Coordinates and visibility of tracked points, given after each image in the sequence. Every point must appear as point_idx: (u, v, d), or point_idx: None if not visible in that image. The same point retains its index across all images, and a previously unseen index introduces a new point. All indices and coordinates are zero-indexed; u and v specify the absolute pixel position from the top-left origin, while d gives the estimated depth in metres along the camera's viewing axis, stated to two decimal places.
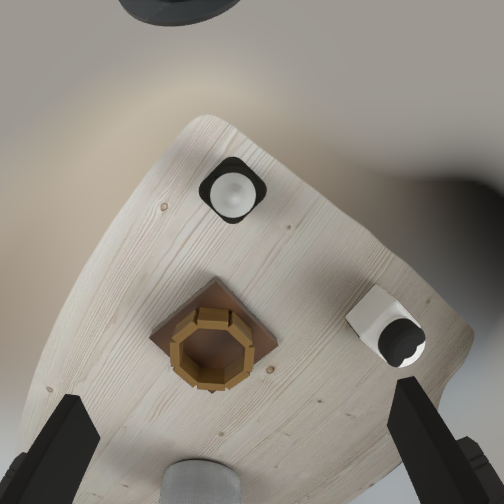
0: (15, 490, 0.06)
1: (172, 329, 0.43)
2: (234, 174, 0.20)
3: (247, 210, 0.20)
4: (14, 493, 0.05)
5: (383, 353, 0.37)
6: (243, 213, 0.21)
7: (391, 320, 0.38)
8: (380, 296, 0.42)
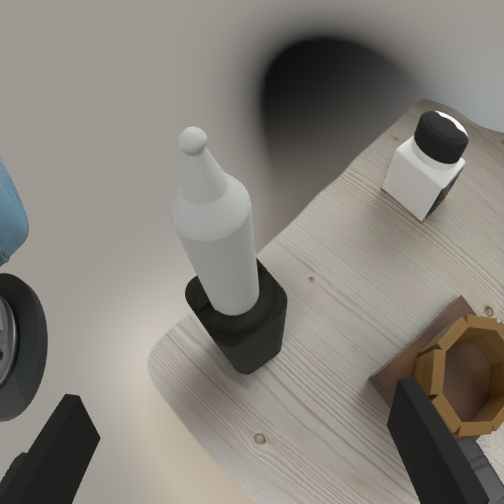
0: (15, 490, 0.06)
1: None
2: None
3: None
4: (14, 493, 0.05)
5: (456, 152, 0.27)
6: (244, 188, 0.11)
7: (418, 150, 0.30)
8: (394, 174, 0.35)
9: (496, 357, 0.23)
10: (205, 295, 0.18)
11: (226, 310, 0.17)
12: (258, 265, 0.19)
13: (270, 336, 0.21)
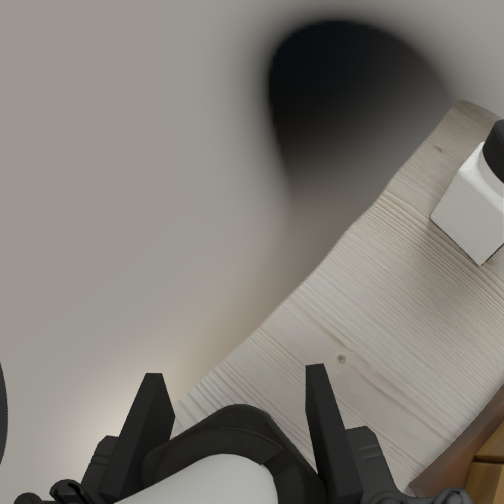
0: (116, 473, 0.07)
1: None
2: None
3: None
4: (116, 476, 0.07)
5: None
6: None
7: (490, 174, 0.19)
8: (452, 203, 0.24)
9: None
10: None
11: None
12: (276, 450, 0.08)
13: None
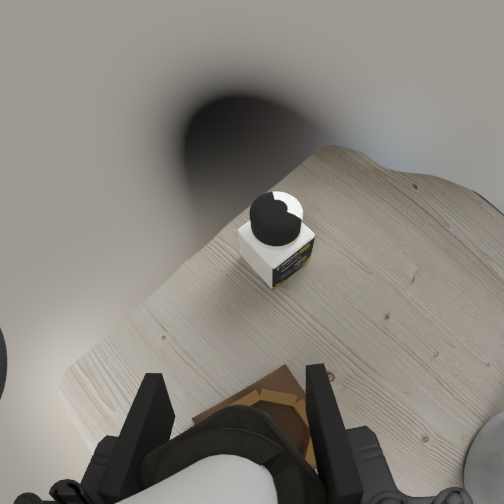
0: (116, 473, 0.07)
1: None
2: None
3: None
4: (115, 476, 0.07)
5: (280, 237, 0.35)
6: None
7: (252, 232, 0.38)
8: (243, 248, 0.43)
9: (305, 425, 0.31)
10: None
11: None
12: (276, 450, 0.08)
13: None
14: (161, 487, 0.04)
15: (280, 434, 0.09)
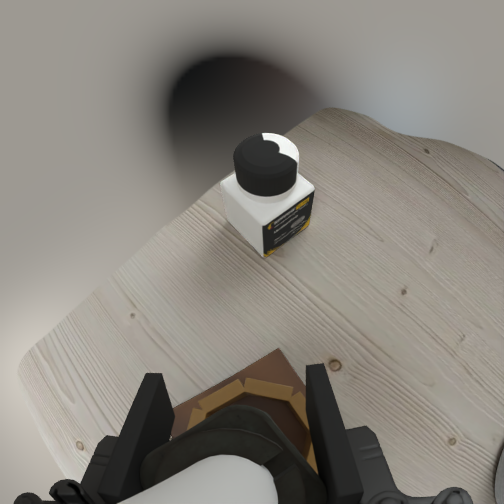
0: (116, 473, 0.07)
1: None
2: None
3: None
4: (115, 476, 0.07)
5: (271, 183, 0.28)
6: None
7: (237, 182, 0.31)
8: (228, 207, 0.35)
9: (304, 427, 0.24)
10: None
11: None
12: (276, 450, 0.08)
13: None
14: (162, 488, 0.04)
15: (280, 434, 0.09)
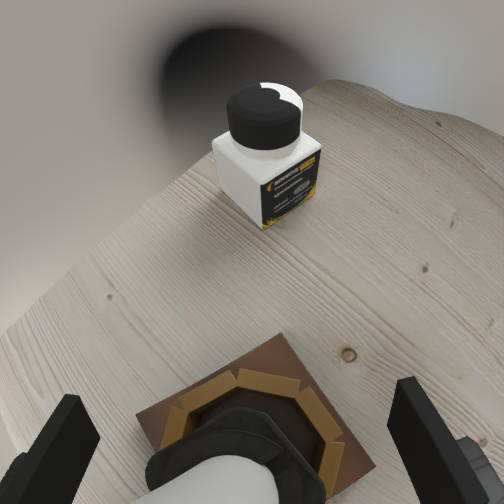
0: (15, 490, 0.06)
1: None
2: None
3: None
4: (14, 493, 0.05)
5: (271, 132, 0.23)
6: None
7: (231, 137, 0.26)
8: (221, 171, 0.30)
9: (313, 431, 0.18)
10: None
11: None
12: (277, 451, 0.08)
13: None
14: (172, 486, 0.04)
15: (281, 435, 0.09)
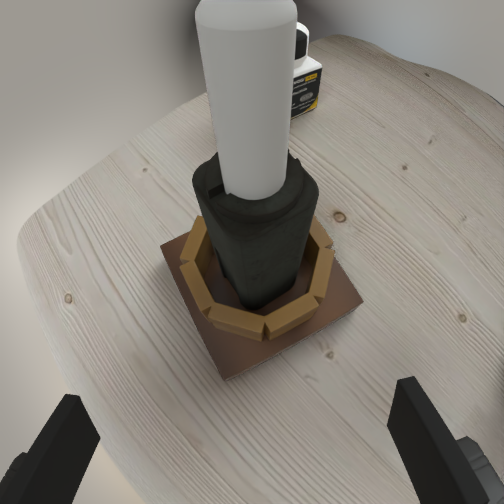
0: (15, 490, 0.06)
1: (216, 332, 0.25)
2: None
3: None
4: (14, 493, 0.05)
5: None
6: None
7: None
8: None
9: (309, 252, 0.26)
10: (218, 176, 0.15)
11: (244, 187, 0.13)
12: None
13: (291, 247, 0.18)
14: None
15: None
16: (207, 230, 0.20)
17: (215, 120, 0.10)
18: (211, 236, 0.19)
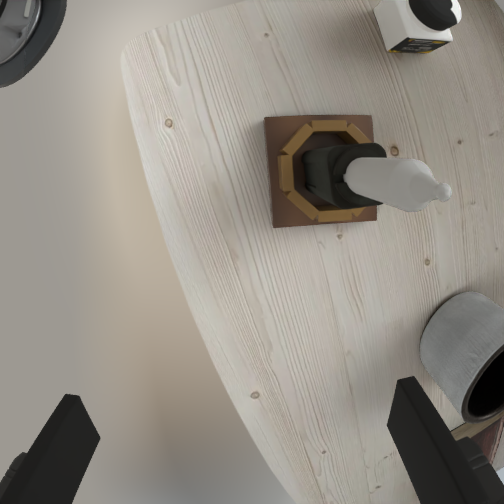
0: (15, 490, 0.06)
1: (281, 196, 0.37)
2: (399, 168, 0.15)
3: None
4: (14, 493, 0.05)
5: (434, 21, 0.23)
6: None
7: (407, 0, 0.24)
8: (383, 5, 0.29)
9: None
10: (344, 168, 0.23)
11: (355, 191, 0.23)
12: None
13: None
14: None
15: None
16: (314, 158, 0.28)
17: (364, 182, 0.19)
18: (316, 165, 0.28)
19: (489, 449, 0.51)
